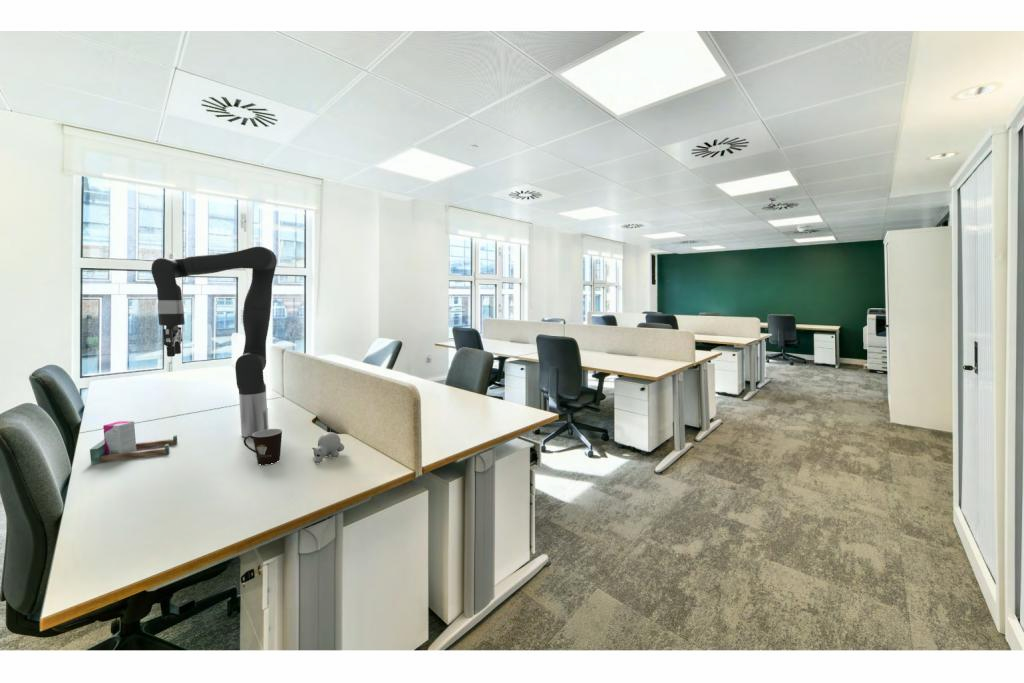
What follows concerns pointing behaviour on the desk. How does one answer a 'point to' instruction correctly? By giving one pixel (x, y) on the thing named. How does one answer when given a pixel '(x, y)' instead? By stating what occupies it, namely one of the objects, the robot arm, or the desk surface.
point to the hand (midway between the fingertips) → (174, 355)
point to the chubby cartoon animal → (327, 447)
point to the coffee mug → (266, 445)
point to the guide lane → (100, 455)
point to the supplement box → (119, 437)
